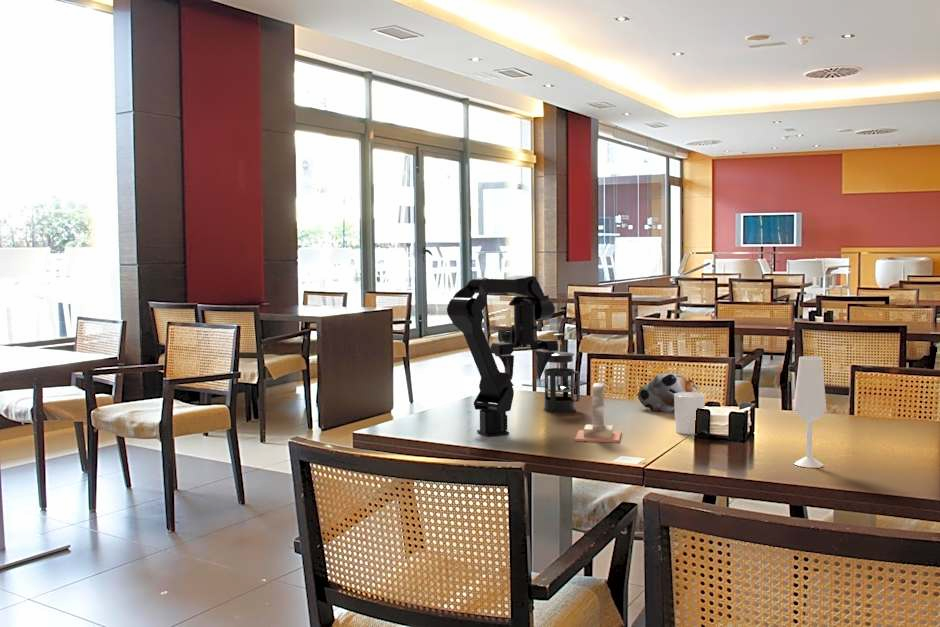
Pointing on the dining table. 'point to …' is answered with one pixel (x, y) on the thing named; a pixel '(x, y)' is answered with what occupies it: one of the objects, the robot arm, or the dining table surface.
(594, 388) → the table number stand
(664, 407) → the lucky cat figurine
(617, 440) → the terracotta mat
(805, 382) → the champagne flute
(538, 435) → the dining table surface
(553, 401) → the french press
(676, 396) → the white cup
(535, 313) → the robot arm
